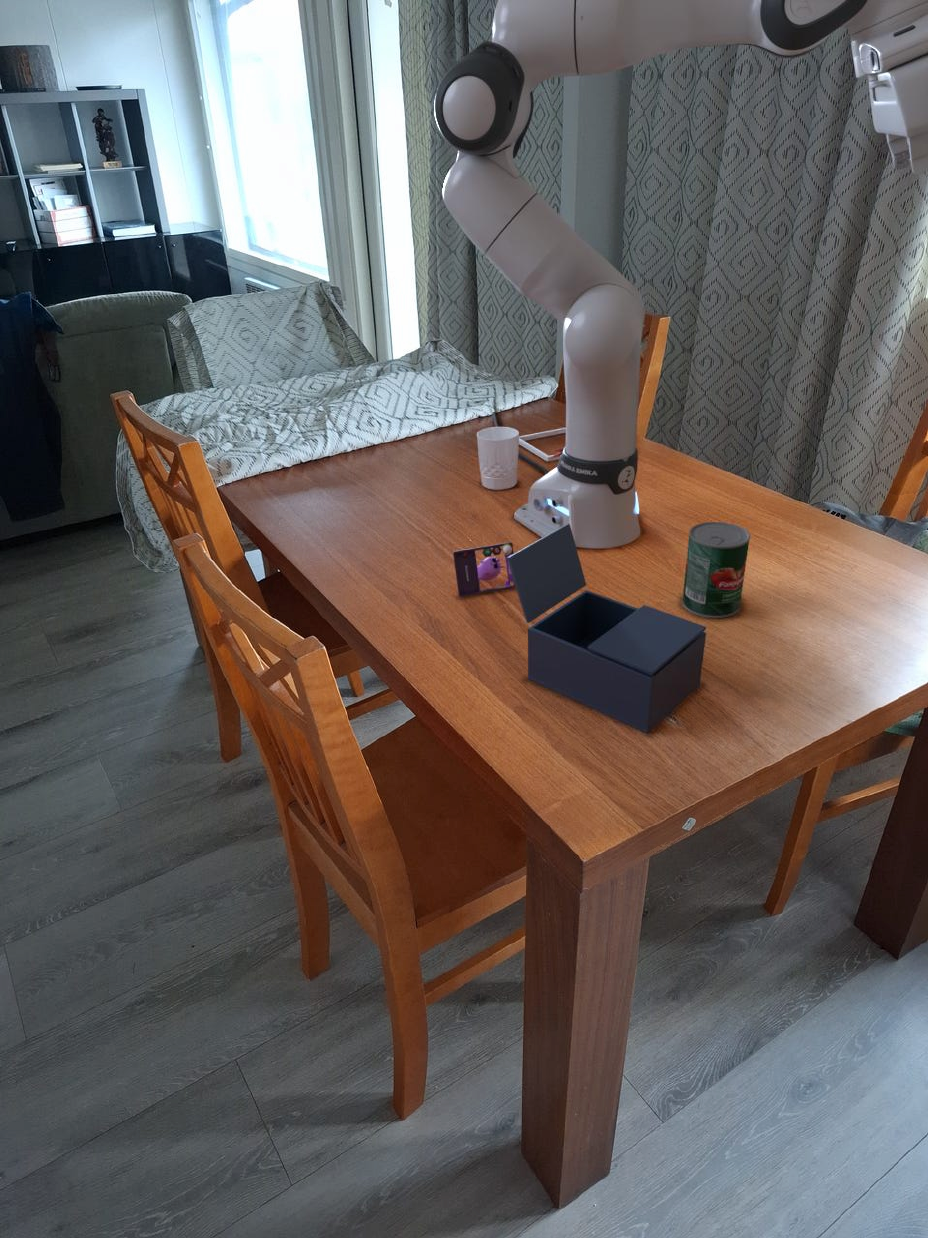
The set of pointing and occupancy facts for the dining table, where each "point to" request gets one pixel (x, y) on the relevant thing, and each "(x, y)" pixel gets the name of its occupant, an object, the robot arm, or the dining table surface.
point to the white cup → (498, 457)
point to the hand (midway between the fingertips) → (911, 169)
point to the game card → (480, 568)
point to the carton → (617, 658)
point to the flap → (546, 572)
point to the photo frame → (539, 435)
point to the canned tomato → (715, 569)
